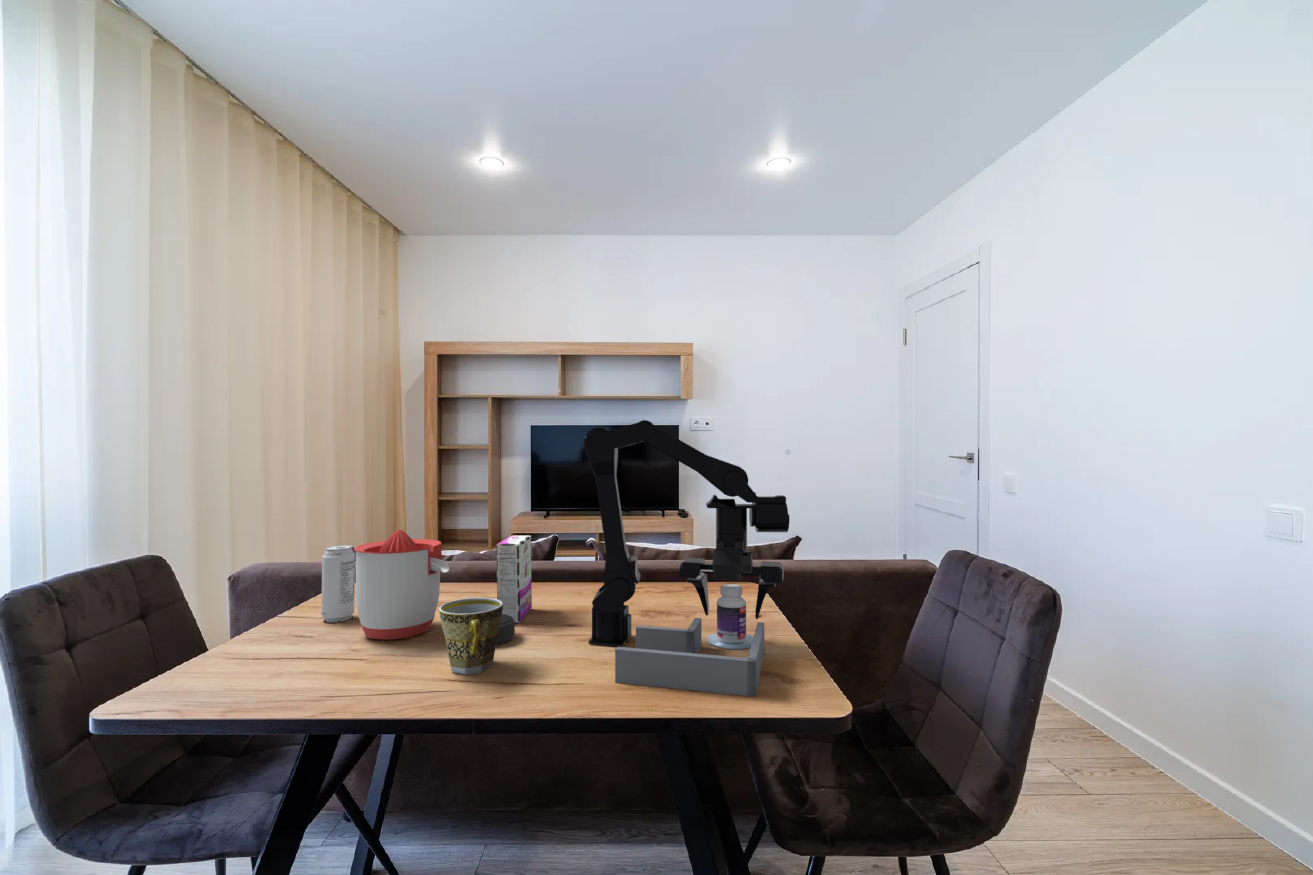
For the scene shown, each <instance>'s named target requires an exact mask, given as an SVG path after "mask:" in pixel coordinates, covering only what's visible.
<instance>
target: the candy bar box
mask: <svg viewBox="0 0 1313 875" xmlns="http://www.w3.org/2000/svg"><path fill="white" fill-rule="evenodd" d="M496 593H497V594H496V599H497V600H500V601H502V602H503V610H502V614H506V615H509V616H511V617H512V618H513V619H514V621H515V624H520V623H521V622H522V621H523V619H524V618H525V617H526V616H527V615H528V613H529V612H530V611H531V609H532V608H533V604H532V603H533V602H532V598H533V597H532V593H533V592H532V535H526V534H525V535H523V534H521V535H519V534H518V535H517V534H515V535H510V536H508V537H506V538H505V539H503V540H502V541H500V542H499V543H497V544H496Z"/></svg>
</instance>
